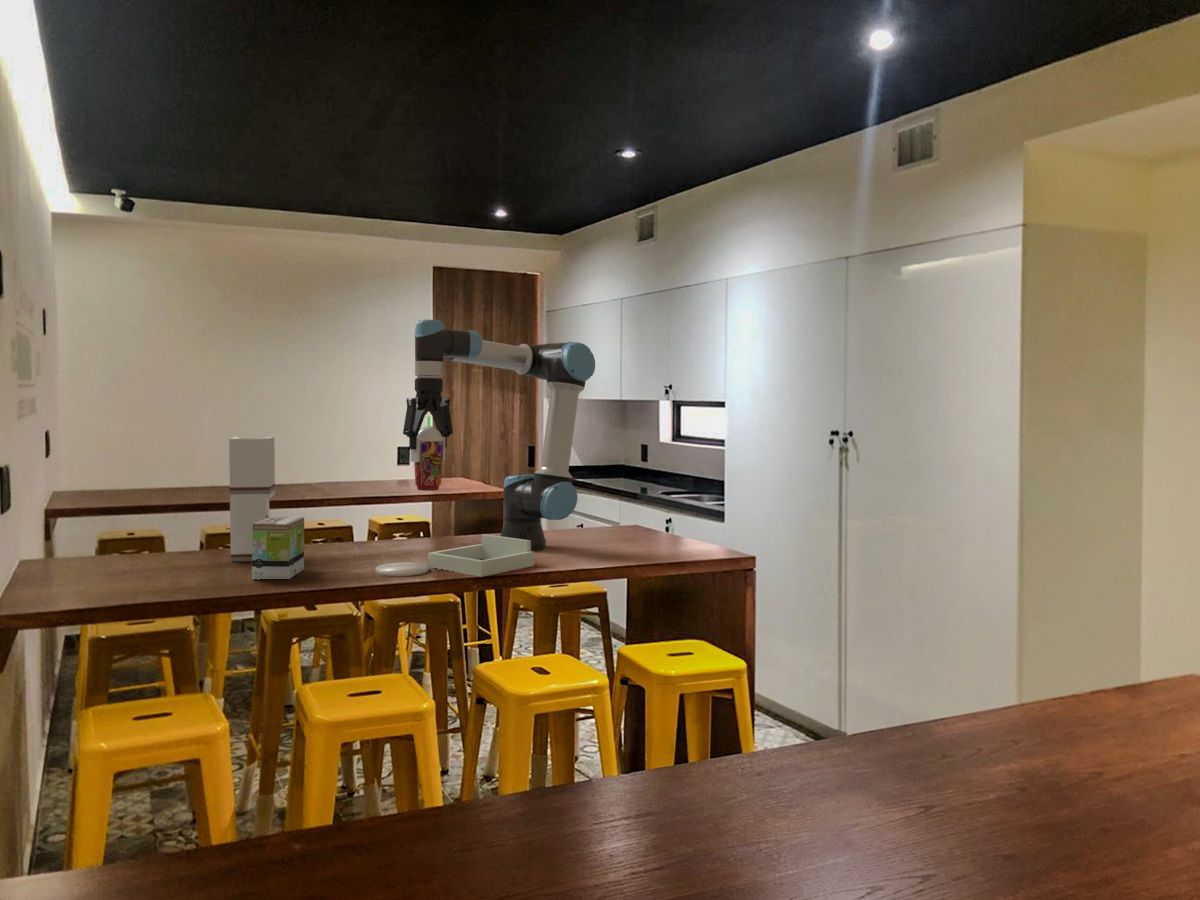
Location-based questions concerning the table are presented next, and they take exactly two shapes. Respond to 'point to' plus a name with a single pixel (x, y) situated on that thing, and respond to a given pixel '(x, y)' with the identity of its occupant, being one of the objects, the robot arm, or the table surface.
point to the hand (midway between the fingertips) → (428, 461)
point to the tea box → (277, 547)
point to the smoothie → (429, 459)
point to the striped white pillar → (249, 490)
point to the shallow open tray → (485, 556)
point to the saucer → (402, 569)
